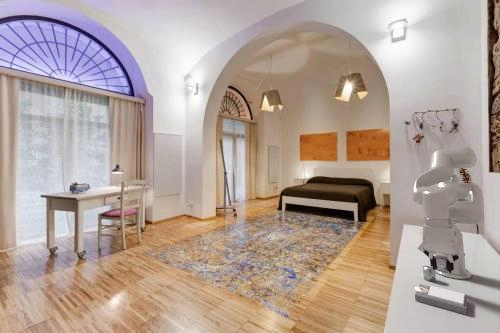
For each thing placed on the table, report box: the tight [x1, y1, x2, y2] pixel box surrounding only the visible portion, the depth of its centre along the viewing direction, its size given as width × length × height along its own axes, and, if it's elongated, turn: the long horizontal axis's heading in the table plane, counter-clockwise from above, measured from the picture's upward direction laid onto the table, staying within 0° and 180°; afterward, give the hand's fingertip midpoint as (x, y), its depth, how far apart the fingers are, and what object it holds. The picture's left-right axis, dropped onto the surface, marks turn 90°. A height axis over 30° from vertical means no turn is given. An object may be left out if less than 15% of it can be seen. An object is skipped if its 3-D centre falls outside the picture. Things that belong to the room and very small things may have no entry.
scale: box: [414, 284, 468, 316], centre depth 79 cm, size 10×14×3 cm
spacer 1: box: [422, 265, 437, 283], centre depth 94 cm, size 4×4×5 cm
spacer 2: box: [433, 255, 449, 273], centre depth 86 cm, size 4×4×5 cm
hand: (442, 269), depth 86 cm, fingers closed on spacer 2, 4 cm apart
